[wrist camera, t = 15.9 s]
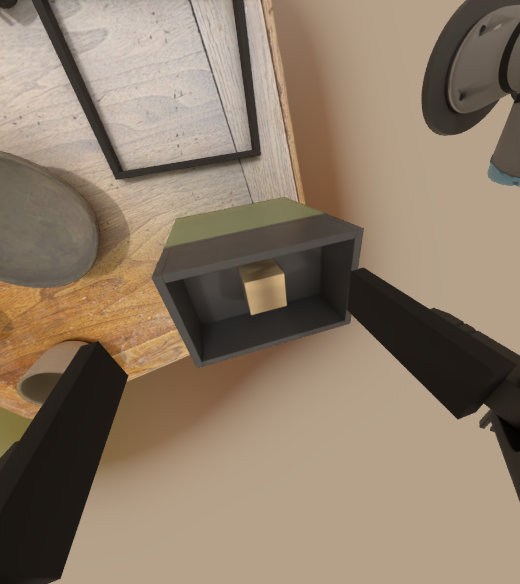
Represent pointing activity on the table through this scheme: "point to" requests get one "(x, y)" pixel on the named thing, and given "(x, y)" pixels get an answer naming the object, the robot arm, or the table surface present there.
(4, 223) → the bowl
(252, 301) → the toy block
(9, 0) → the toy truck
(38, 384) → the planter
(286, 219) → the stand
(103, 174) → the table surface
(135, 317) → the table surface
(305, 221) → the bin
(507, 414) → the robot arm
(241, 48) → the rim tray
